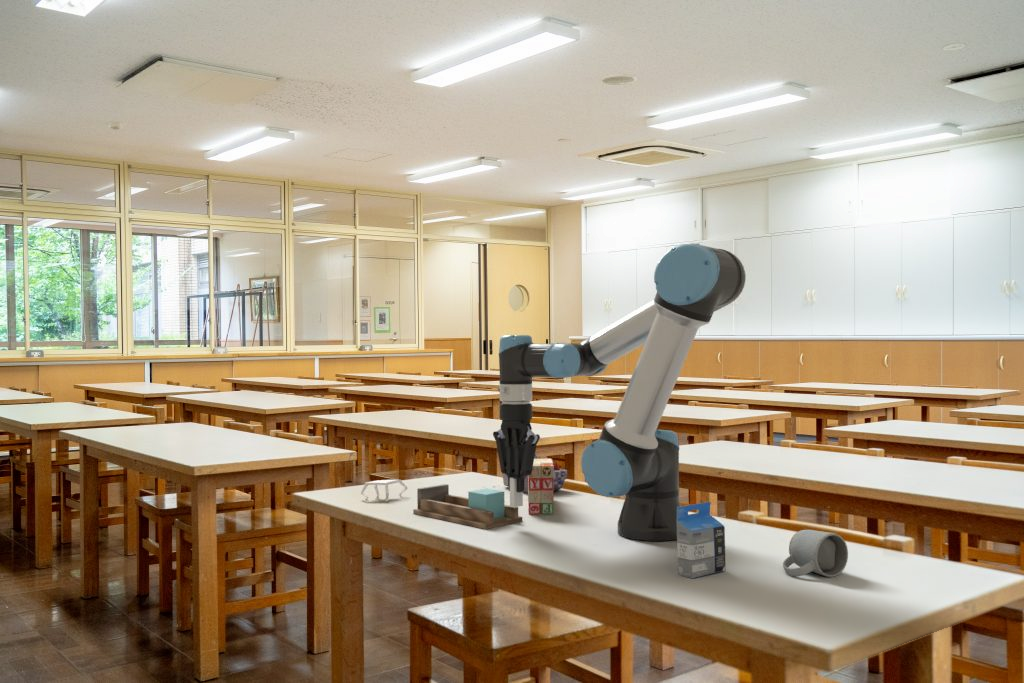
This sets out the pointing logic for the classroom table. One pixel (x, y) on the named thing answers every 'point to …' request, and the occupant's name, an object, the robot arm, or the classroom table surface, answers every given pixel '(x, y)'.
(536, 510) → the stack of blocks
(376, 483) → the white bent leg stand
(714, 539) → the label tape box
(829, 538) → the ceramic mug
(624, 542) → the classroom table surface
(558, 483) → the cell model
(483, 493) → the block
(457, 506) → the chute
